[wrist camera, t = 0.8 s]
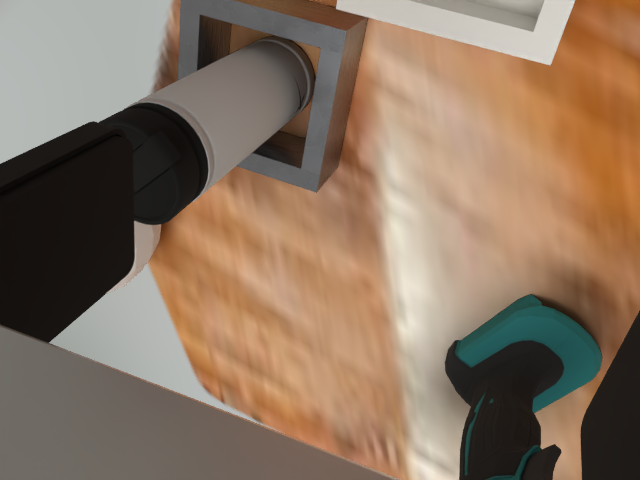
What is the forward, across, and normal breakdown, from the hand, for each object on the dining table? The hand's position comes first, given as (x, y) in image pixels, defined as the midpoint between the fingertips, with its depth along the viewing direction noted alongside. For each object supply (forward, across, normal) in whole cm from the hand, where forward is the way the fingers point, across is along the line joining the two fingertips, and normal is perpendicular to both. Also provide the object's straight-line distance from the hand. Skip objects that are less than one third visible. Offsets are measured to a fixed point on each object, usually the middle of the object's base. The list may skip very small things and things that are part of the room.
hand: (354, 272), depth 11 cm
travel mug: (+36, +15, +8) cm, 40 cm away
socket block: (+35, +15, +8) cm, 39 cm away
